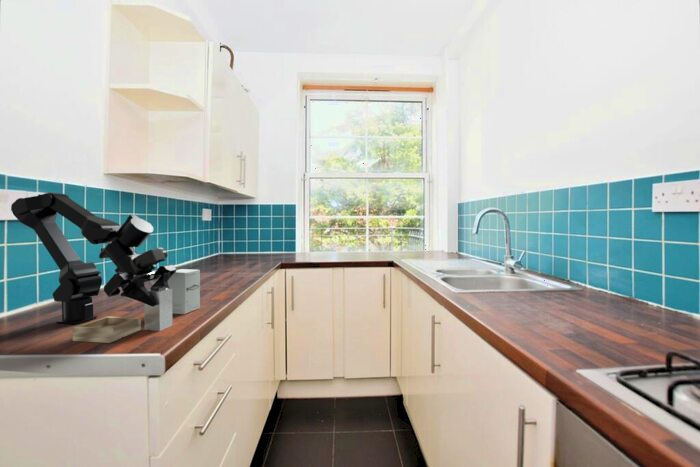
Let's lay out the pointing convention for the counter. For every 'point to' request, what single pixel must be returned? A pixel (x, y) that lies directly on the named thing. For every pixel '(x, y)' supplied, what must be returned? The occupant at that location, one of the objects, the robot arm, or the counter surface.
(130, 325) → the cream square holder
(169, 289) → the socket block
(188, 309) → the supplement box
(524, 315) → the counter surface
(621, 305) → the counter surface
